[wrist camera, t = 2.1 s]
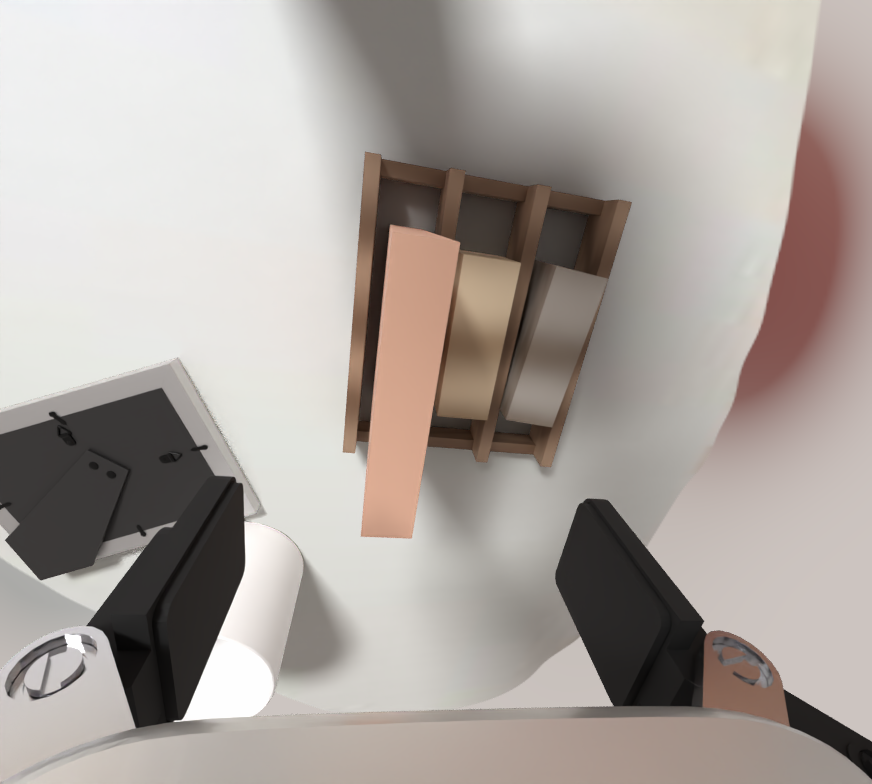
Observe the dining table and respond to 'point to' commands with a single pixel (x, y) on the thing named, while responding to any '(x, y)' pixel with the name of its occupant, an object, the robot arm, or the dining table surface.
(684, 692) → the robot arm
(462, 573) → the dining table surface
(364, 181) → the offcut rack
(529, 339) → the grey offcut
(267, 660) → the cup
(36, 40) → the dining table surface
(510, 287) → the birch offcut
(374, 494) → the plywood sheet
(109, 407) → the picture frame
